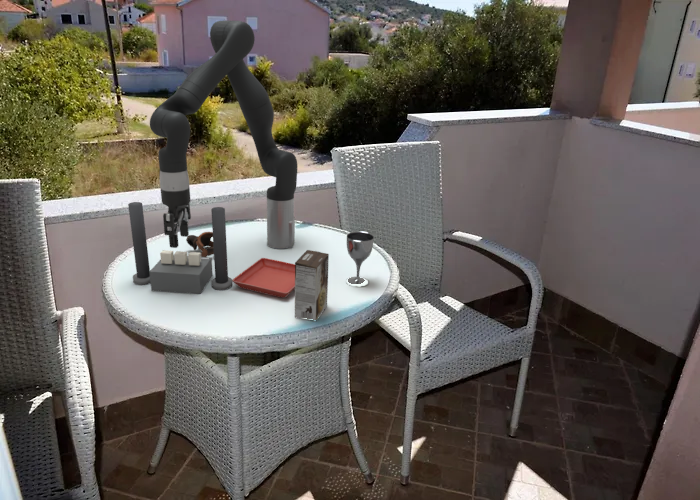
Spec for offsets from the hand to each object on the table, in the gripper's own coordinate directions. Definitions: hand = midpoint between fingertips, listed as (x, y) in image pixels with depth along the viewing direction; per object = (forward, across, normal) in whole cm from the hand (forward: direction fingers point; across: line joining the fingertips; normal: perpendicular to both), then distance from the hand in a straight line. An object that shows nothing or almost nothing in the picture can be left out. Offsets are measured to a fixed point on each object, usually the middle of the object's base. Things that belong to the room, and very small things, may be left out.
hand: (179, 241), depth 147 cm
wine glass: (+13, +8, -51) cm, 53 cm away
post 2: (+13, 0, -12) cm, 17 cm away
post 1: (+13, 0, +12) cm, 17 cm away
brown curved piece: (+13, +23, 0) cm, 26 cm away
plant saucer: (+14, +4, -26) cm, 30 cm away
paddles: (+6, 0, 0) cm, 6 cm away
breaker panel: (+13, 0, 0) cm, 13 cm away
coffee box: (+13, -12, -39) cm, 43 cm away
